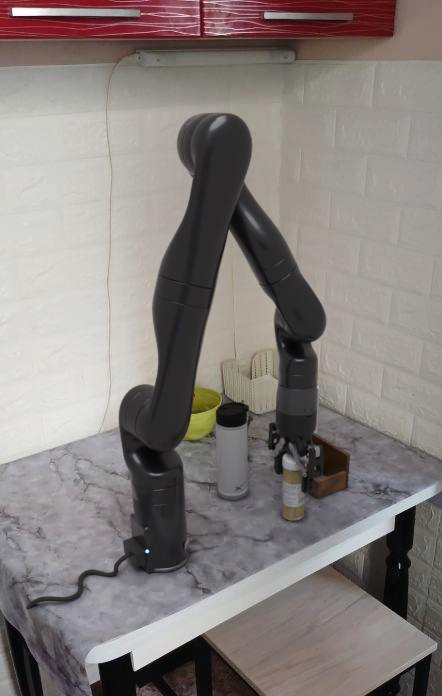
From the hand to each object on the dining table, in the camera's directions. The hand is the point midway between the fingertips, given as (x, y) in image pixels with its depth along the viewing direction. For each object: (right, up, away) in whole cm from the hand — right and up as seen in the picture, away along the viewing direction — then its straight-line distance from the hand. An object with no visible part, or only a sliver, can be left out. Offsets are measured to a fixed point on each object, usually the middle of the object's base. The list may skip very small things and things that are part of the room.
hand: (293, 482), depth 146 cm
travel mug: (-11, -2, +13) cm, 17 cm away
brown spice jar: (0, -7, +5) cm, 8 cm away
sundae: (-10, +5, +25) cm, 28 cm away
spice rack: (+5, +1, +17) cm, 18 cm away
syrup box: (+5, +9, +31) cm, 33 cm away
